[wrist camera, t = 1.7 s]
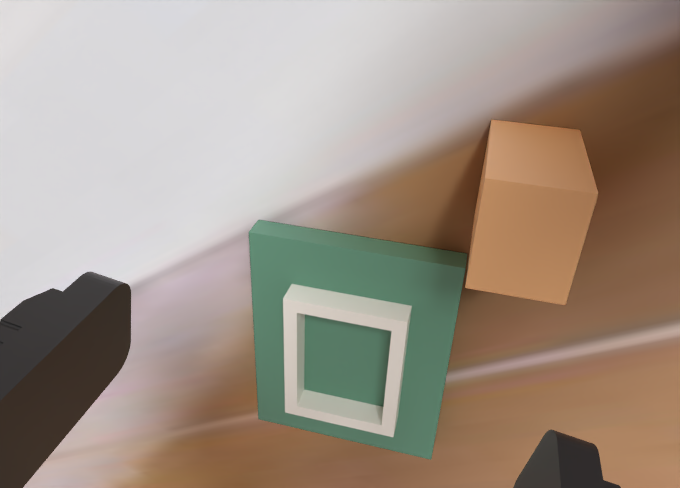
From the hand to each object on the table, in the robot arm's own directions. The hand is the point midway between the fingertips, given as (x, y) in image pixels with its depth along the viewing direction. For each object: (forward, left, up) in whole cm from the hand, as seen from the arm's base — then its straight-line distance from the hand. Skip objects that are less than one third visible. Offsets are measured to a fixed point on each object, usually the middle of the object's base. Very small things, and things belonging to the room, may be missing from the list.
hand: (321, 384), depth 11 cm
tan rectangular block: (-5, +4, -20) cm, 21 cm away
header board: (+3, +16, -20) cm, 26 cm away
